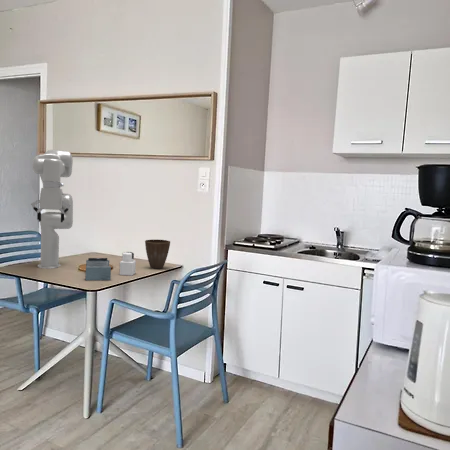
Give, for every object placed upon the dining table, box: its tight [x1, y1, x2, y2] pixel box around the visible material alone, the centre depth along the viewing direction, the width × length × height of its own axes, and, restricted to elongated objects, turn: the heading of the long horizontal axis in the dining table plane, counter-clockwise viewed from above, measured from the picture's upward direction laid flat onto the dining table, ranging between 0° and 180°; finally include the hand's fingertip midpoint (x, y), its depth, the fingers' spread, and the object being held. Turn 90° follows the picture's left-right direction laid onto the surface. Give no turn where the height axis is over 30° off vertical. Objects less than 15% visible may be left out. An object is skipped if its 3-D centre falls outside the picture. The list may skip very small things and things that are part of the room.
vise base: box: [85, 265, 112, 281], centre depth 225 cm, size 25×12×6 cm, turn 18°
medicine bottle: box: [118, 251, 137, 276], centre depth 231 cm, size 7×7×12 cm
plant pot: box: [144, 239, 171, 270], centre depth 253 cm, size 15×15×16 cm
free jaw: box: [85, 257, 110, 267], centre depth 232 cm, size 3×12×6 cm, turn 108°
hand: (50, 221), depth 201 cm, fingers open, 9 cm apart
